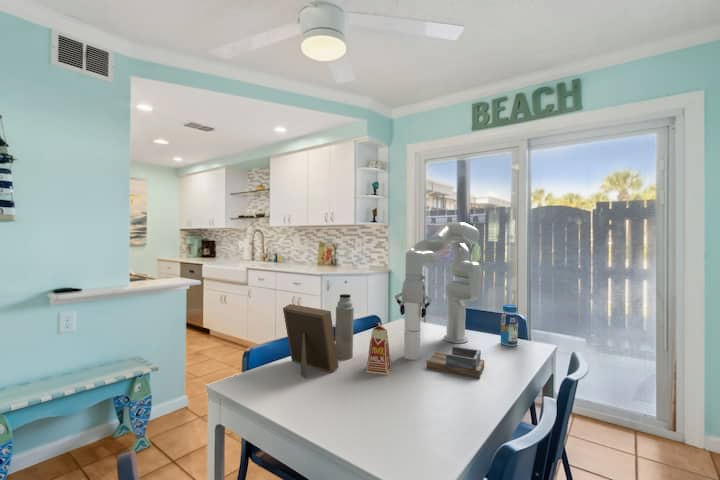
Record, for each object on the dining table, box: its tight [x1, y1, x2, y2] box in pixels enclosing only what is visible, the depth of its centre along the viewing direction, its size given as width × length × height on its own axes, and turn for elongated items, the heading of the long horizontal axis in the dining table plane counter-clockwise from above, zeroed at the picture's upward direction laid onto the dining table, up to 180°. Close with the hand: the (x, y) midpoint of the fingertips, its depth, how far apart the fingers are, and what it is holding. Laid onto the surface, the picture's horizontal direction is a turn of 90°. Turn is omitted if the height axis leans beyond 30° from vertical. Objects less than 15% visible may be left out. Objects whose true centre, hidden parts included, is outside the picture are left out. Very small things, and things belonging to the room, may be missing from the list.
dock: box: [426, 346, 485, 379], centre depth 151 cm, size 14×21×7 cm, turn 64°
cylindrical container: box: [403, 302, 422, 361], centre depth 163 cm, size 7×7×25 cm
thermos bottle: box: [334, 293, 355, 361], centre depth 162 cm, size 8×8×28 cm
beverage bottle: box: [500, 304, 519, 347], centre depth 187 cm, size 8×8×20 cm
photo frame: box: [282, 303, 339, 379], centre depth 145 cm, size 15×22×25 cm
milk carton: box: [365, 322, 392, 376], centre depth 147 cm, size 9×9×20 cm
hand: (412, 315), depth 163 cm, fingers open, 9 cm apart
